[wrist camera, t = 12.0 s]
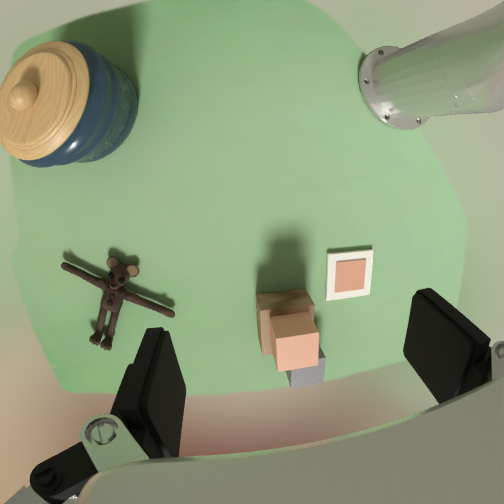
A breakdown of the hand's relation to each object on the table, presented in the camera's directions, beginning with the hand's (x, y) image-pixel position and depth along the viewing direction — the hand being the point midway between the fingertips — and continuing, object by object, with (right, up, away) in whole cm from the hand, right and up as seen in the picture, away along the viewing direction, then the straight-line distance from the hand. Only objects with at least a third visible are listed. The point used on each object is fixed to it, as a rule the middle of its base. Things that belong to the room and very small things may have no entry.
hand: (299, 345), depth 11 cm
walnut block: (+2, -5, +33) cm, 33 cm away
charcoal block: (+6, -13, +36) cm, 38 cm away
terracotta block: (+3, -7, +28) cm, 29 cm away
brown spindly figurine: (-22, -4, +30) cm, 38 cm away
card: (+12, 0, +32) cm, 34 cm away
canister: (-22, +21, +22) cm, 38 cm away
